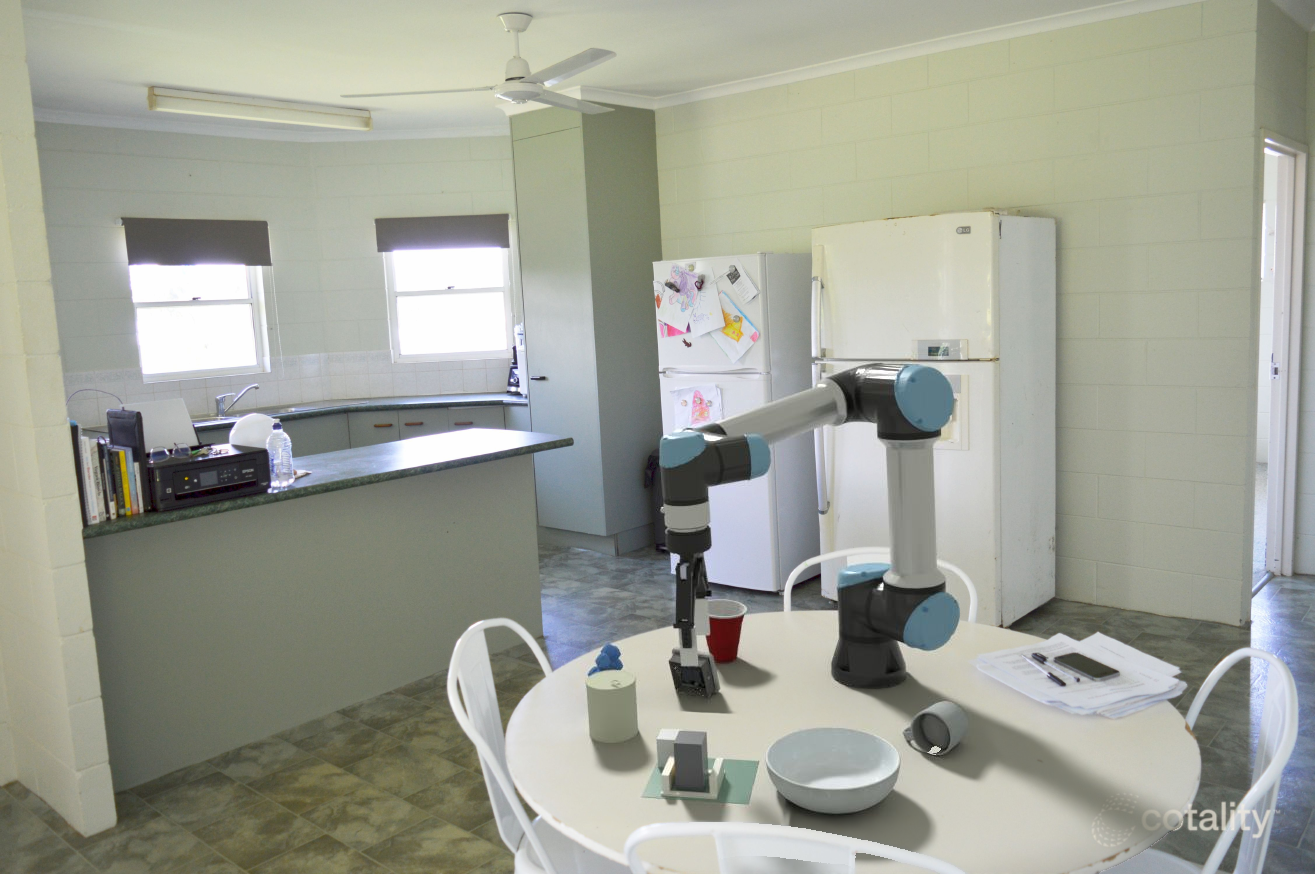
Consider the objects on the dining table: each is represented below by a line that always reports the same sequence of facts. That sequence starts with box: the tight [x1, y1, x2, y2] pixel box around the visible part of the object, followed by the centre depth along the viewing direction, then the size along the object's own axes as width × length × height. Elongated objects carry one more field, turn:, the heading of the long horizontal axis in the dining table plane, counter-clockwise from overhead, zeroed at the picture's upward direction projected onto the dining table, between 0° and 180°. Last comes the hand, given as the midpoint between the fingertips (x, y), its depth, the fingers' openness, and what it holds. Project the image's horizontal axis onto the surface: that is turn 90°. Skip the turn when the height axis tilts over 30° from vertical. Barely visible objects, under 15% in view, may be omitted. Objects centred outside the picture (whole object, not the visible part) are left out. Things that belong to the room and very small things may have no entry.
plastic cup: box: [704, 598, 748, 664], centre depth 212 cm, size 11×11×12 cm
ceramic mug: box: [902, 700, 970, 757], centre depth 168 cm, size 11×8×8 cm
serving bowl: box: [764, 726, 902, 814], centre depth 153 cm, size 21×21×7 cm
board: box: [640, 755, 760, 805], centre depth 158 cm, size 17×14×4 cm
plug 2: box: [673, 730, 709, 792], centre depth 155 cm, size 5×4×8 cm
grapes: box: [587, 643, 624, 678], centre depth 192 cm, size 12×7×12 cm, turn 161°
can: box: [585, 669, 639, 744], centre depth 176 cm, size 9×9×12 cm
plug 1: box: [655, 728, 686, 768], centre depth 163 cm, size 4×4×5 cm
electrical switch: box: [668, 646, 721, 699], centre depth 195 cm, size 9×5×9 cm, turn 57°
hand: (696, 649), depth 162 cm, fingers open, 13 cm apart
